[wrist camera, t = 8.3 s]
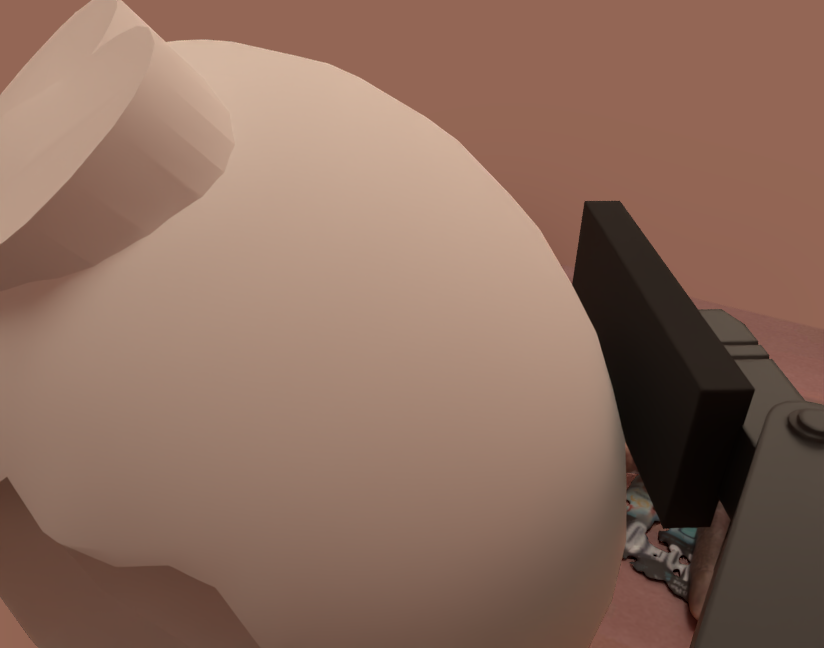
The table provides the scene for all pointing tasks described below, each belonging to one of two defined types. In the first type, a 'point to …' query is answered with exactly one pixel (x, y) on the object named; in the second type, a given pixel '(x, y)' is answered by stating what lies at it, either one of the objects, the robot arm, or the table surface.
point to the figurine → (283, 366)
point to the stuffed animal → (672, 545)
